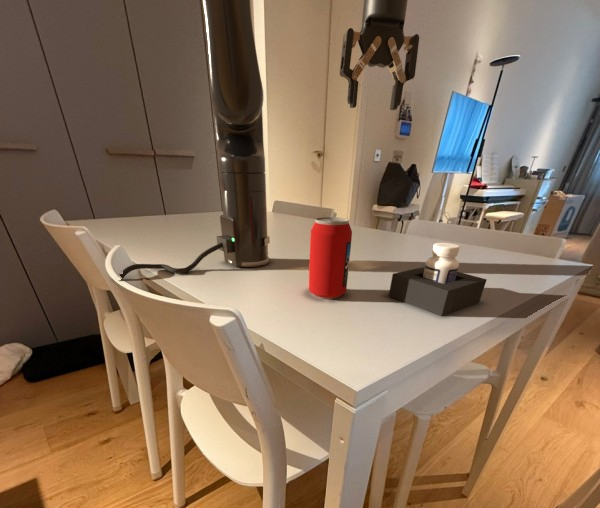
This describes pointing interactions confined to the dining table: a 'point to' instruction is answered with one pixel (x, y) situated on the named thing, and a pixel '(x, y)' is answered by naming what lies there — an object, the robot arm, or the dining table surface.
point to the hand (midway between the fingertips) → (373, 108)
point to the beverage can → (329, 257)
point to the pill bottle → (442, 263)
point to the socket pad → (436, 291)
